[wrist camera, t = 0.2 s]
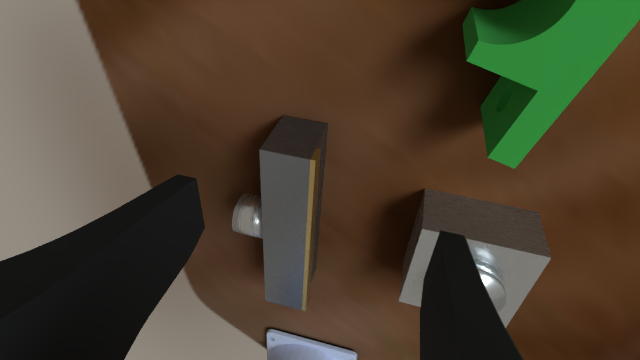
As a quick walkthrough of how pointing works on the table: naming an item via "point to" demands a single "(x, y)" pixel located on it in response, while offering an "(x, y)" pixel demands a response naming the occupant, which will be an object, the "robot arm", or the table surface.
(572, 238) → the table surface
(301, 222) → the end block
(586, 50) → the pipe clamp
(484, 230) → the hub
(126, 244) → the robot arm
